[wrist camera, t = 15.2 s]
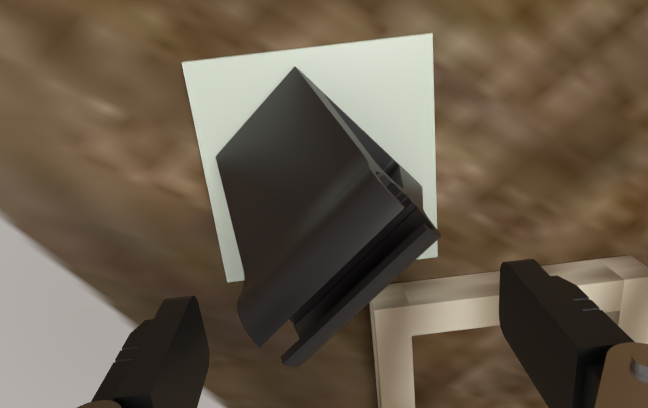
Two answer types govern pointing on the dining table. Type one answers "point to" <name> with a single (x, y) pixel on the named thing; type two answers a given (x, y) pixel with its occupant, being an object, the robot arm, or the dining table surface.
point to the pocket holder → (487, 313)
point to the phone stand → (315, 216)
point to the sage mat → (342, 88)
